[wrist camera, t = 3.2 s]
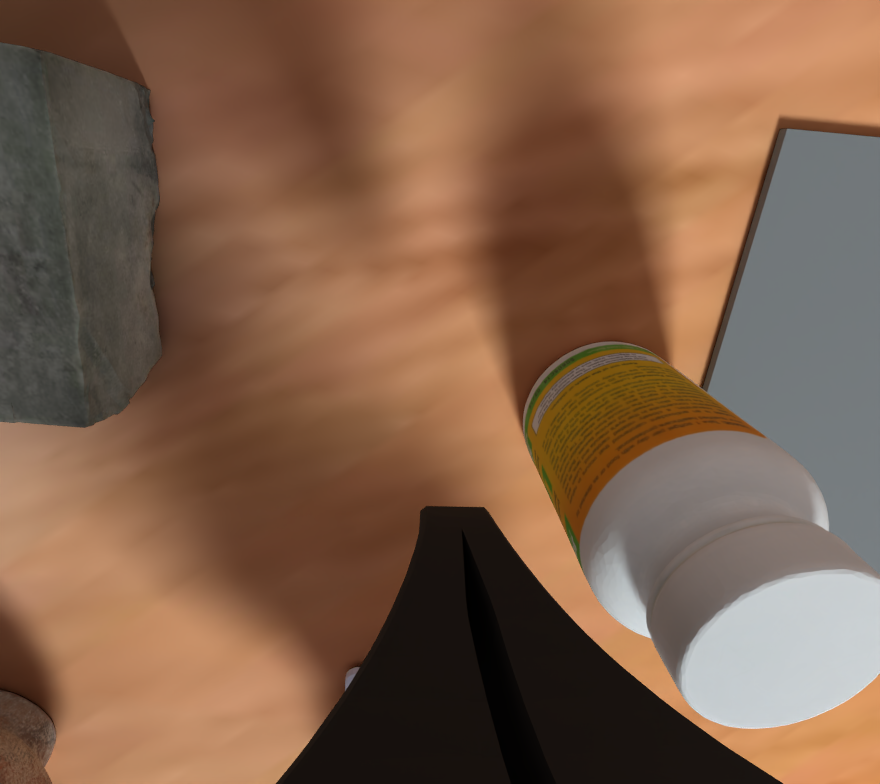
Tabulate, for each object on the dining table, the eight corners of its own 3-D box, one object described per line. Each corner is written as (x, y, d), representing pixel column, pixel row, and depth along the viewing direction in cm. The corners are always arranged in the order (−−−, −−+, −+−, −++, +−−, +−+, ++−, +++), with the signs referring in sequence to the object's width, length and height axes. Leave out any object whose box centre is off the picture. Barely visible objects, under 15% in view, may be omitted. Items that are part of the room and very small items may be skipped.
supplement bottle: (487, 426, 18) (573, 687, 9) (599, 304, 16) (838, 471, 7) (595, 503, 19) (760, 789, 10) (705, 398, 18) (1006, 628, 9)
